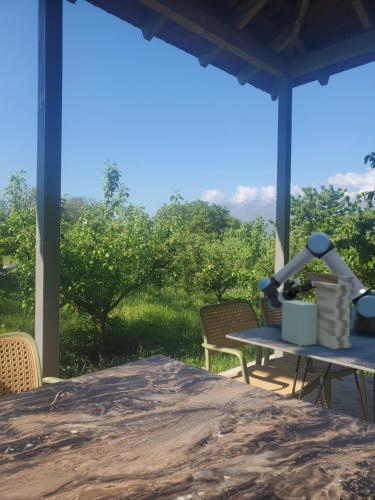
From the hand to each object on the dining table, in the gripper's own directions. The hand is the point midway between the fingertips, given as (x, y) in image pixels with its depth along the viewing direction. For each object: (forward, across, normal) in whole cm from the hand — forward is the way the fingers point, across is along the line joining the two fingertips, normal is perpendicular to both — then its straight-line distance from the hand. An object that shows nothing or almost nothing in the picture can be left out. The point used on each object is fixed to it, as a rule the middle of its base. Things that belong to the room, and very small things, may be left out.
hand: (309, 279), depth 207 cm
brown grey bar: (+11, -1, -7) cm, 13 cm away
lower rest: (-10, +12, -30) cm, 33 cm away
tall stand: (-1, 0, -34) cm, 35 cm away
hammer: (-43, -52, -11) cm, 69 cm away
